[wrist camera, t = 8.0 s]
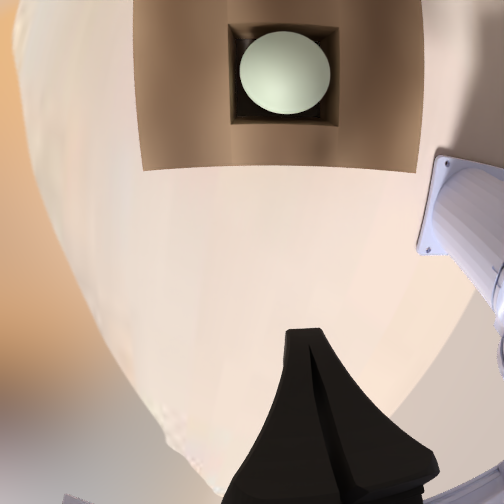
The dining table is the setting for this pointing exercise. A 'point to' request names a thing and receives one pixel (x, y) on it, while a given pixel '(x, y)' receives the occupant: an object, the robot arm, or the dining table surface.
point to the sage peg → (285, 72)
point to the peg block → (279, 127)
